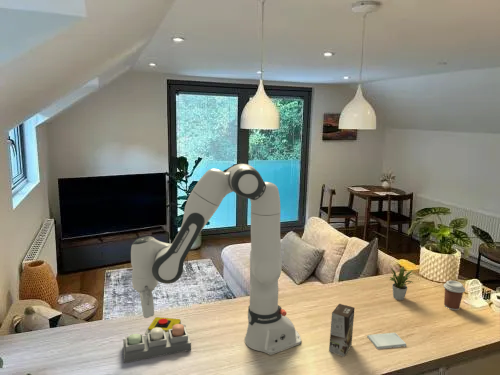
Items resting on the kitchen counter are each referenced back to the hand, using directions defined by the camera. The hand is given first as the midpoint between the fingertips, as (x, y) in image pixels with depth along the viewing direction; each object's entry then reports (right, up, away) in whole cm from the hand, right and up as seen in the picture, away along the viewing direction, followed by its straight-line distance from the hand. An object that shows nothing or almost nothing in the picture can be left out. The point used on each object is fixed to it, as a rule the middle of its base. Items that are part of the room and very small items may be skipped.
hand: (147, 315), depth 136 cm
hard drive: (+93, -15, +12) cm, 95 cm away
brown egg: (+10, -9, +6) cm, 15 cm away
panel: (+3, -14, +4) cm, 15 cm away
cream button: (+3, -9, +3) cm, 10 cm away
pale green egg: (-5, -11, +1) cm, 12 cm away
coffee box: (+73, -15, +7) cm, 75 cm away
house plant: (+113, -8, +48) cm, 123 cm away
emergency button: (+3, -12, +16) cm, 21 cm away
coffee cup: (+135, -10, +41) cm, 141 cm away
